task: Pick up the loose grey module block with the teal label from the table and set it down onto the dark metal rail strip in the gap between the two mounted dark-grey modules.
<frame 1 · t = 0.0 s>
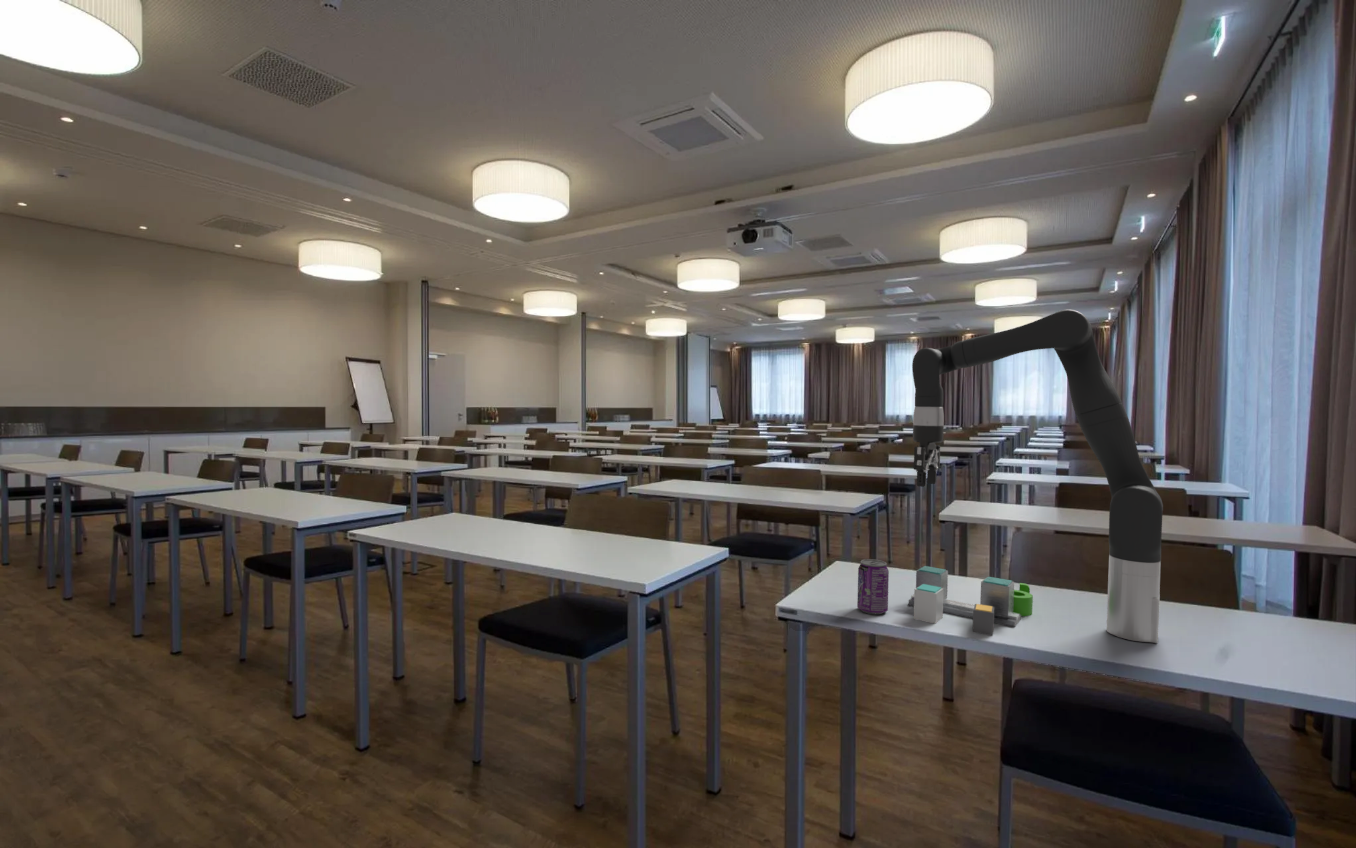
hand: (926, 485, 166), 29 cm above the table, fingers open, 8 cm apart
beverage can: (872, 612, 152), on the table
module: (928, 618, 147), on the table
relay: (983, 630, 140), on the table
tape dispenser: (1015, 608, 157), on the table
rail: (962, 611, 152), on the table
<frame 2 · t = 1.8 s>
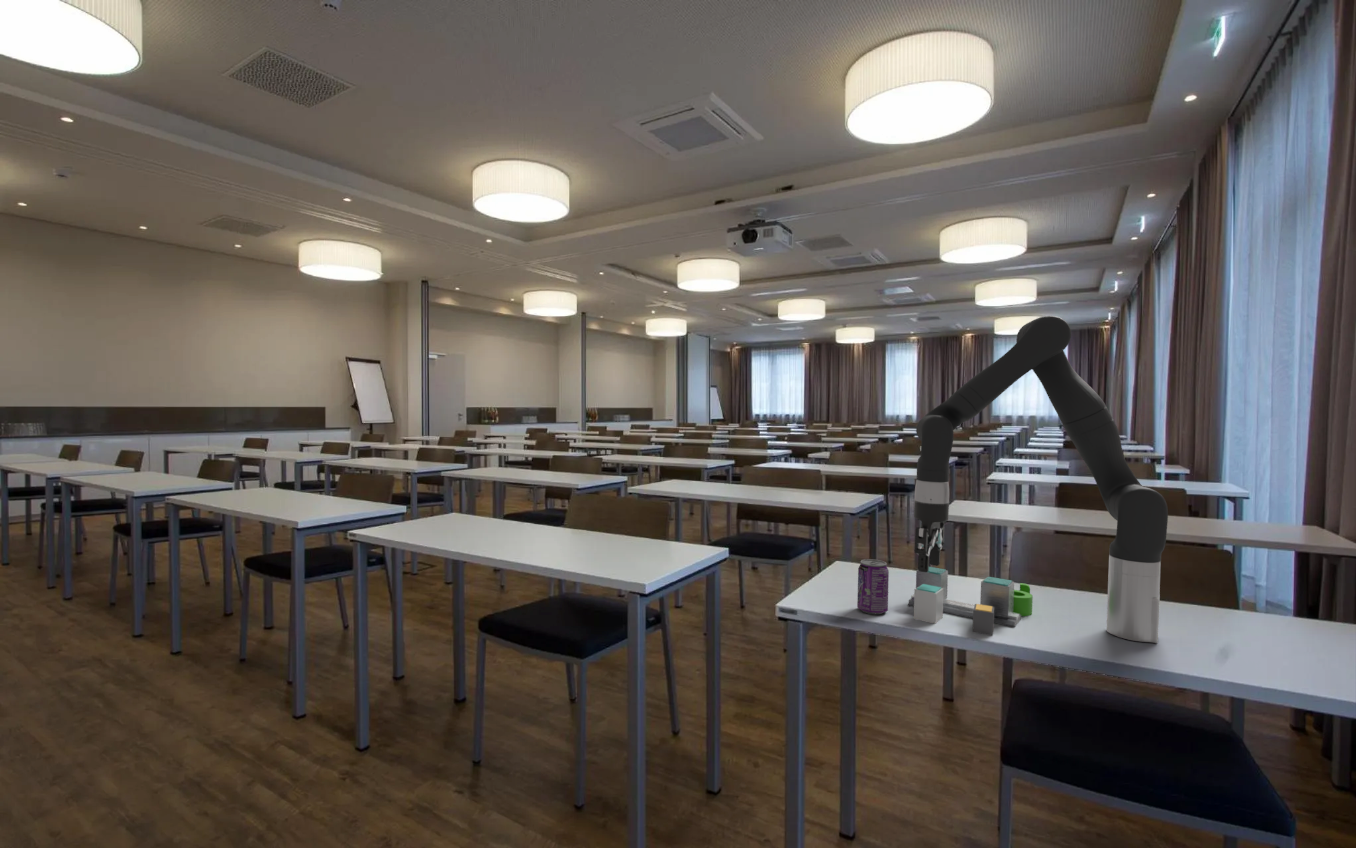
hand: (929, 568, 147), 12 cm above the table, fingers open, 8 cm apart
nothing on the table moved.
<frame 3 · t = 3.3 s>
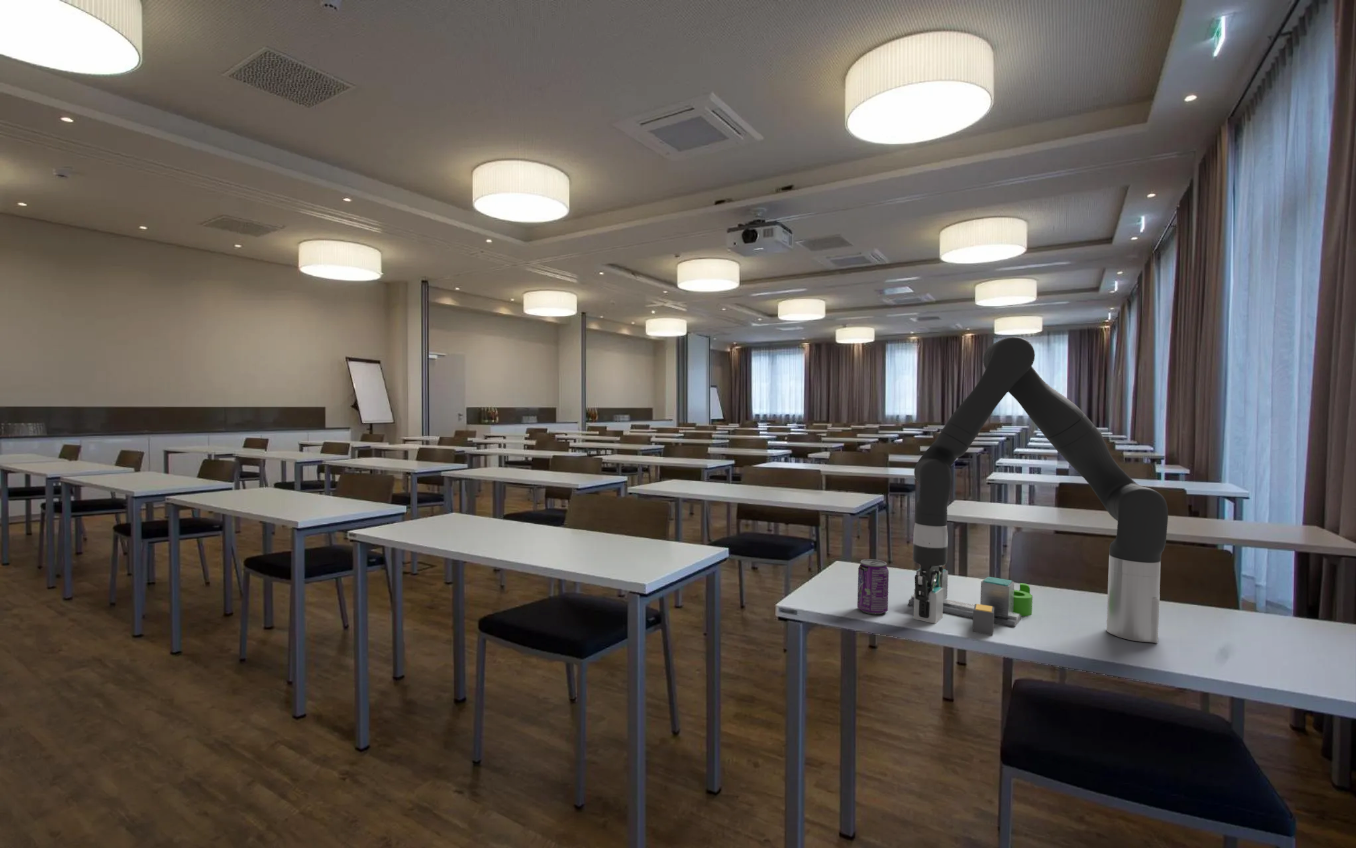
hand: (928, 613, 147), 1 cm above the table, fingers closed on module, 5 cm apart
module: (928, 618, 147), on the table, touching gripper
everything else where it was.
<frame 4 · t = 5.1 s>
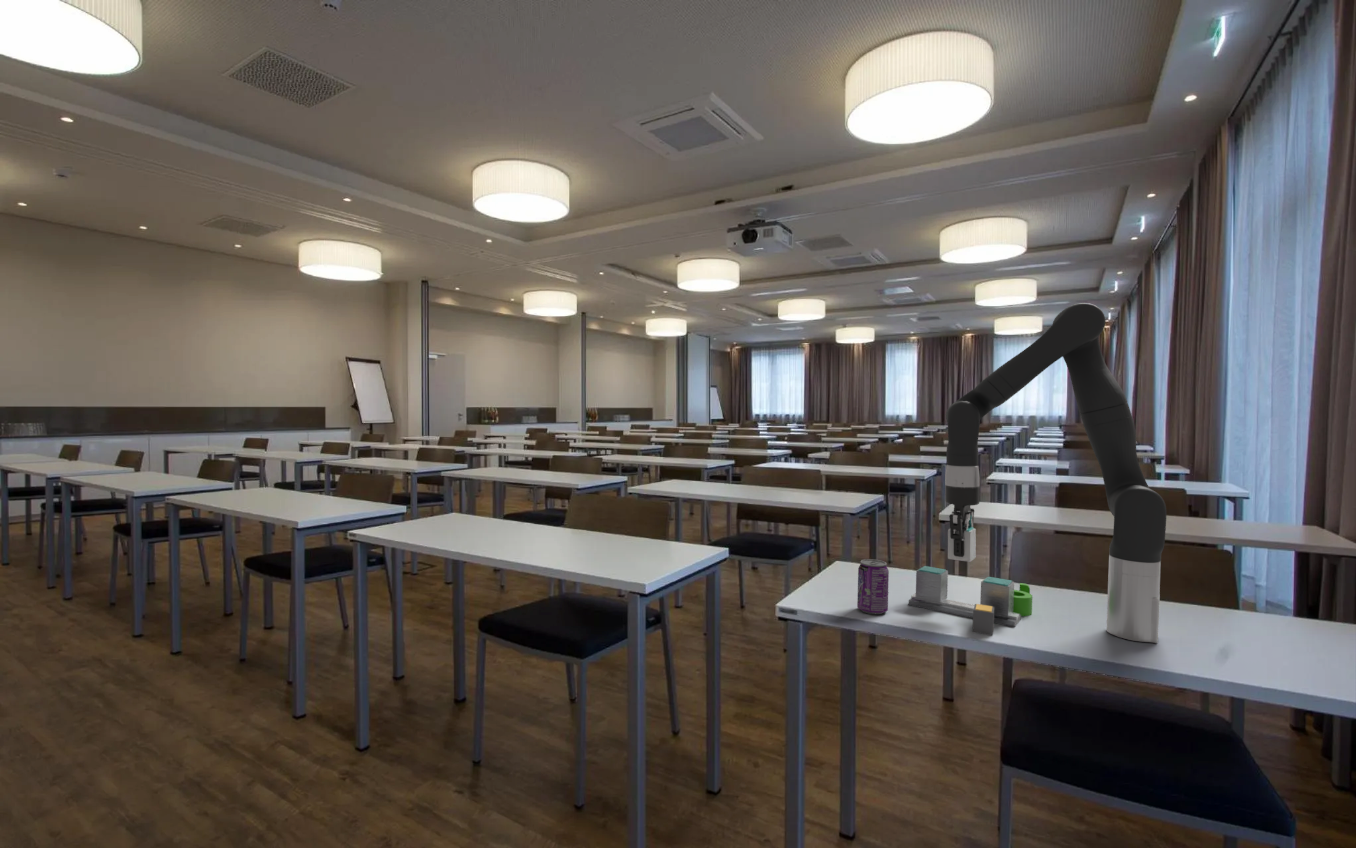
hand: (962, 553, 150), 15 cm above the table, fingers closed on module, 5 cm apart
module: (961, 558, 150), point 14 cm above the table, touching gripper
everything else where it was.
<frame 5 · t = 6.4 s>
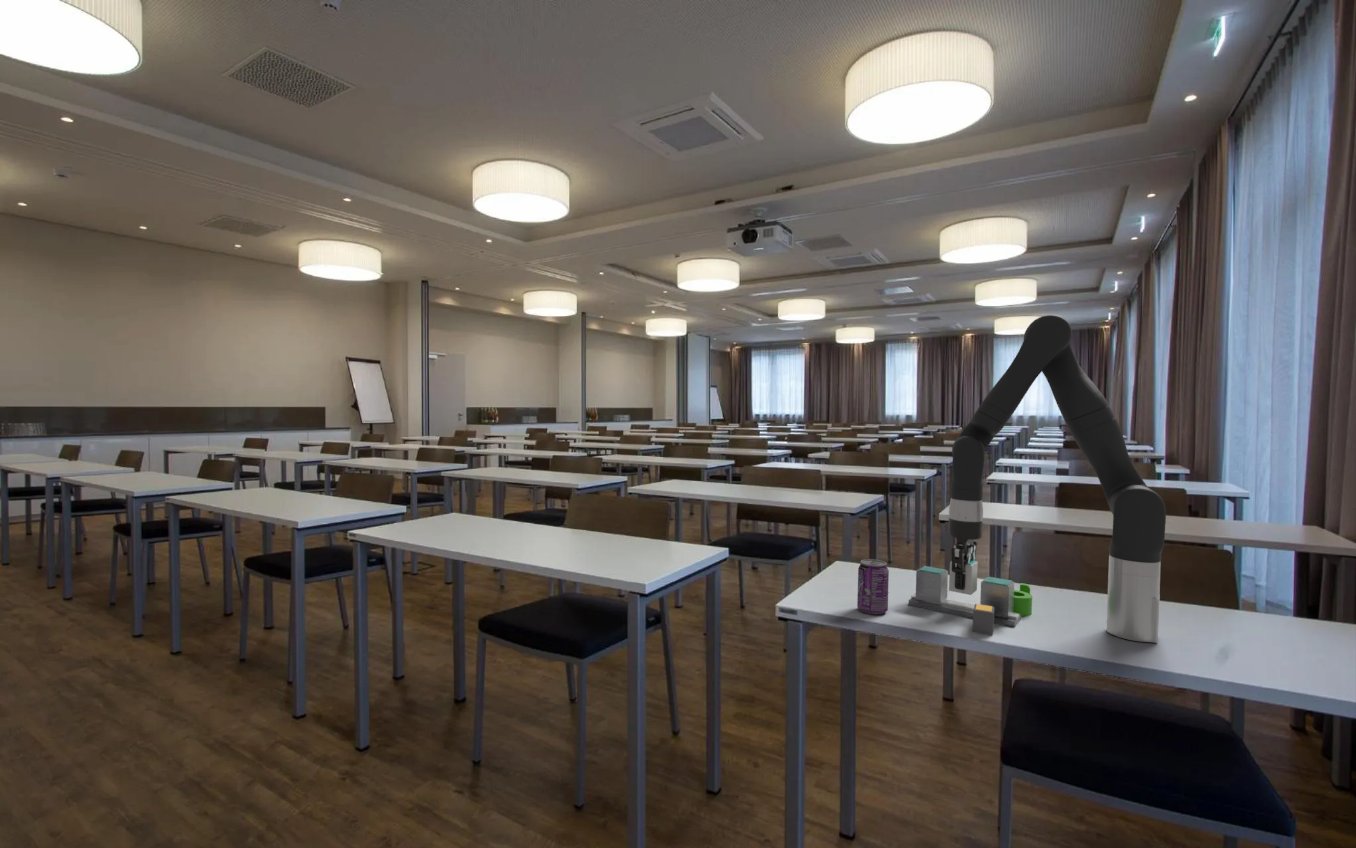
hand: (963, 586, 152), 6 cm above the table, fingers closed on module, 5 cm apart
module: (962, 590, 152), point 5 cm above the table, touching gripper
everything else where it was.
when the fingers open (4 cm above the table, at t = 7.3 s): module drops 1 cm, resting on rail.
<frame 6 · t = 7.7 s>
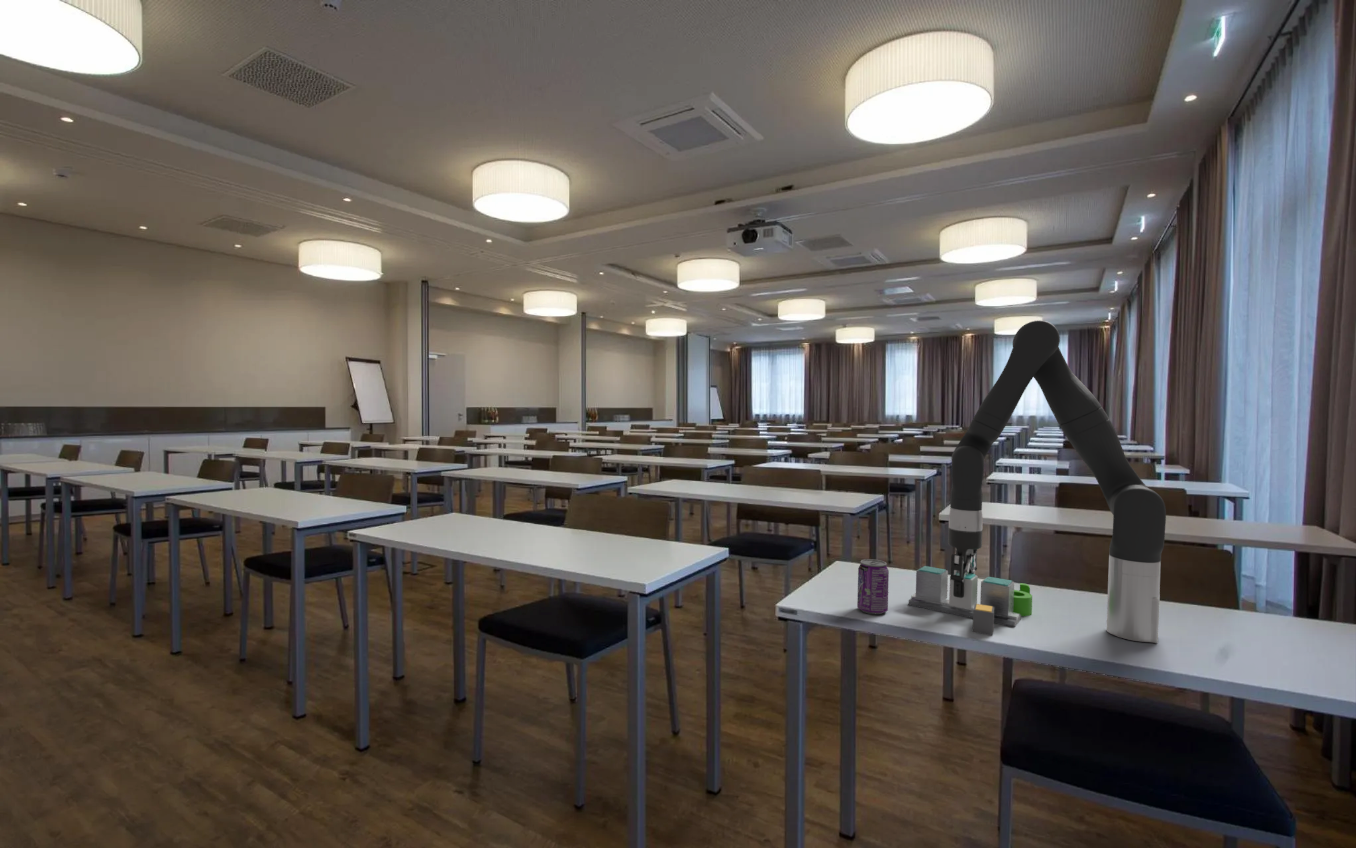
hand: (963, 593, 152), 5 cm above the table, fingers open, 8 cm apart
module: (963, 604, 152), point 2 cm above the table, touching rail
everything else where it was.
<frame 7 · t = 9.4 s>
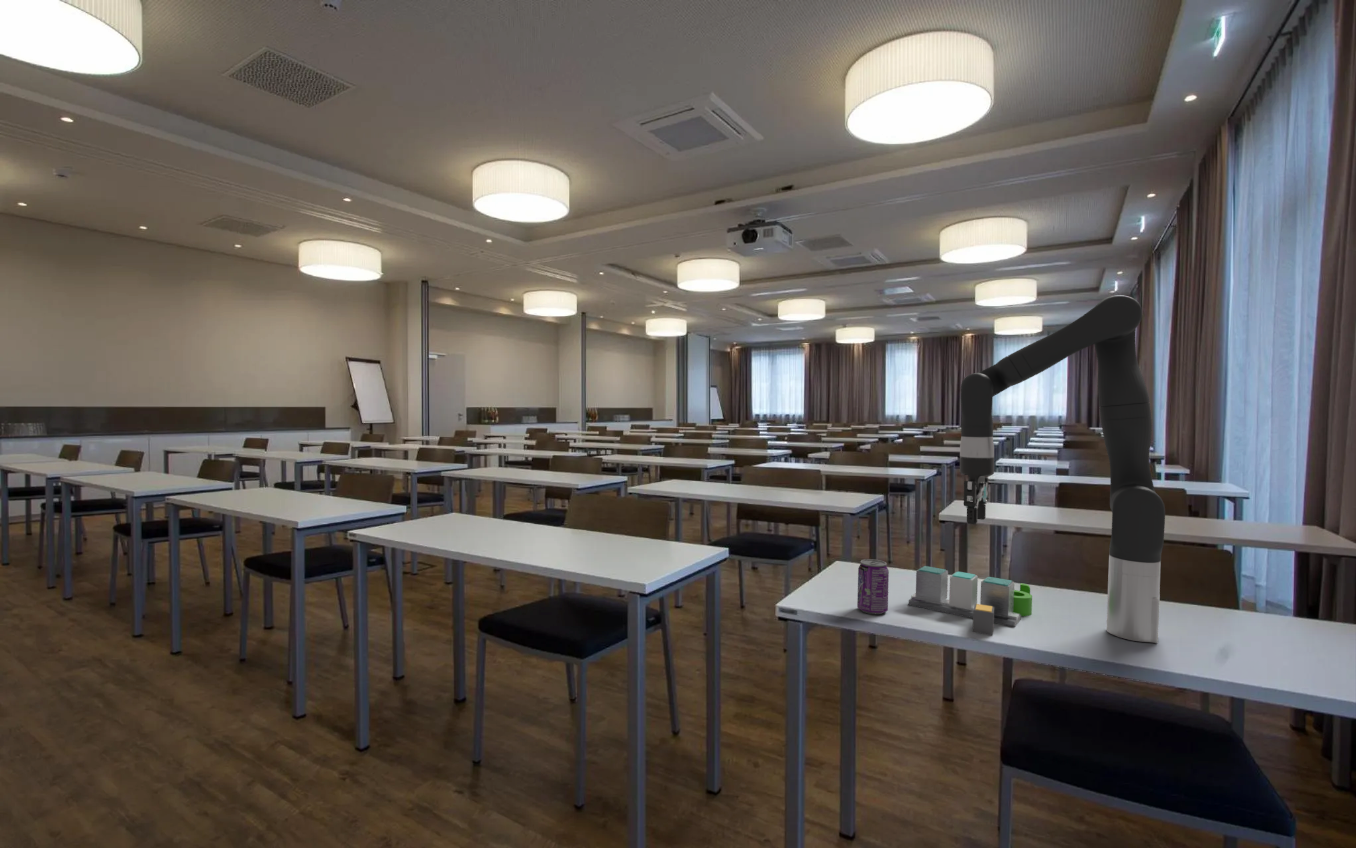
hand: (976, 521, 153), 22 cm above the table, fingers open, 8 cm apart
nothing on the table moved.
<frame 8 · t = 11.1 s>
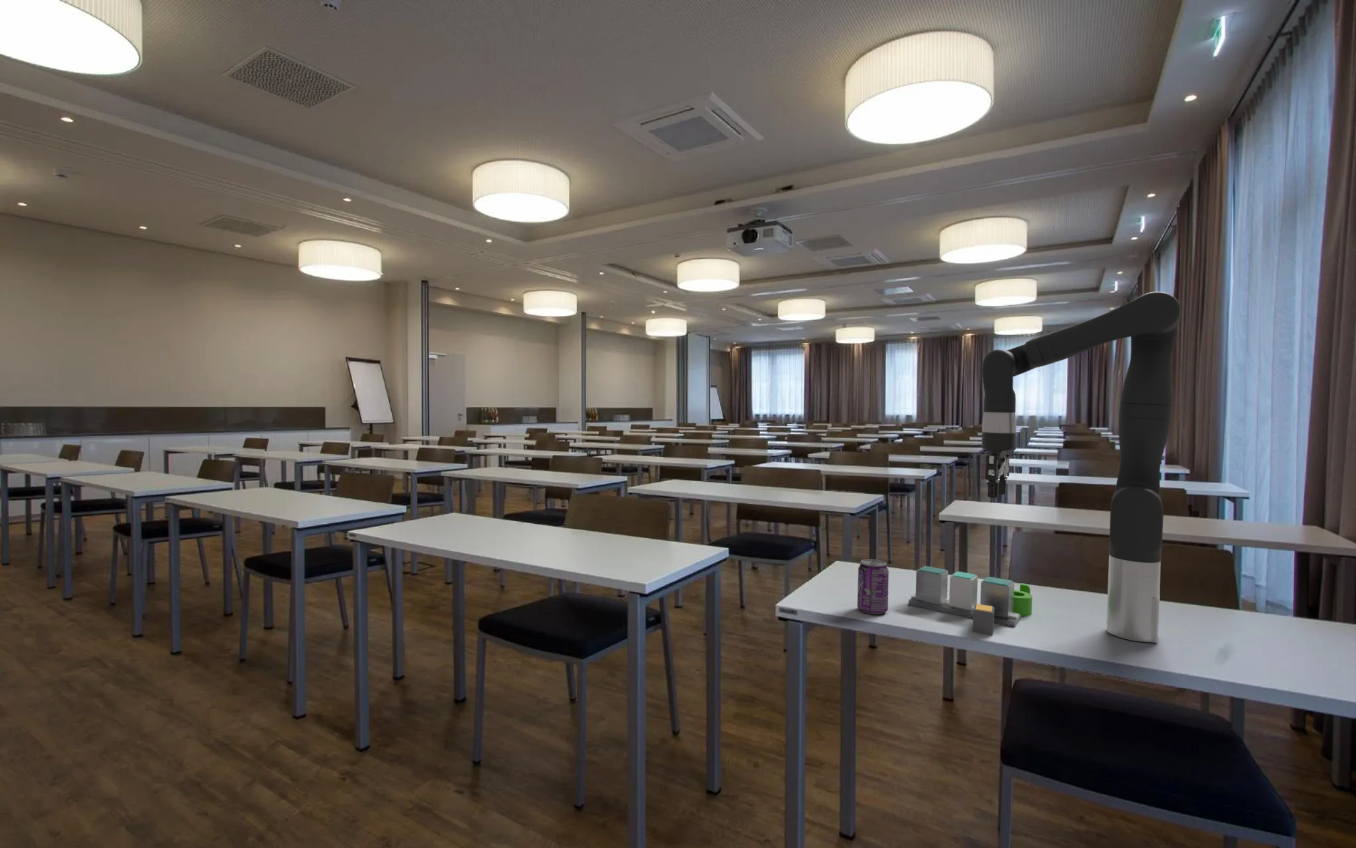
hand: (996, 495, 155), 28 cm above the table, fingers open, 8 cm apart
nothing on the table moved.
at the end: module 0.0 cm off-centre on the rail, point 1.8 cm above the rail's base; module tilted 0°; the gripper is holding nothing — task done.
